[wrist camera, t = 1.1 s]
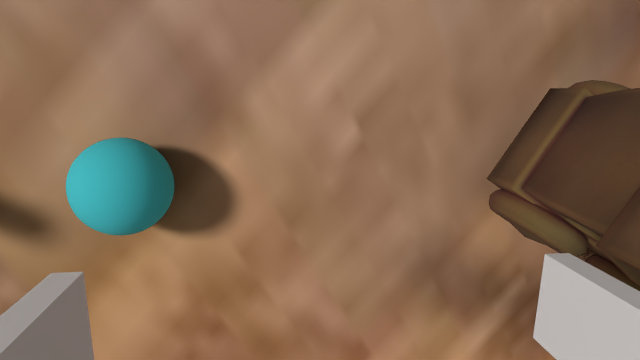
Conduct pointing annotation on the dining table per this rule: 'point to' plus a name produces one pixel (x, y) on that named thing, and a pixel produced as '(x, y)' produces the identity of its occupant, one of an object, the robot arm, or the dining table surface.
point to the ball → (120, 186)
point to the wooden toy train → (578, 176)
